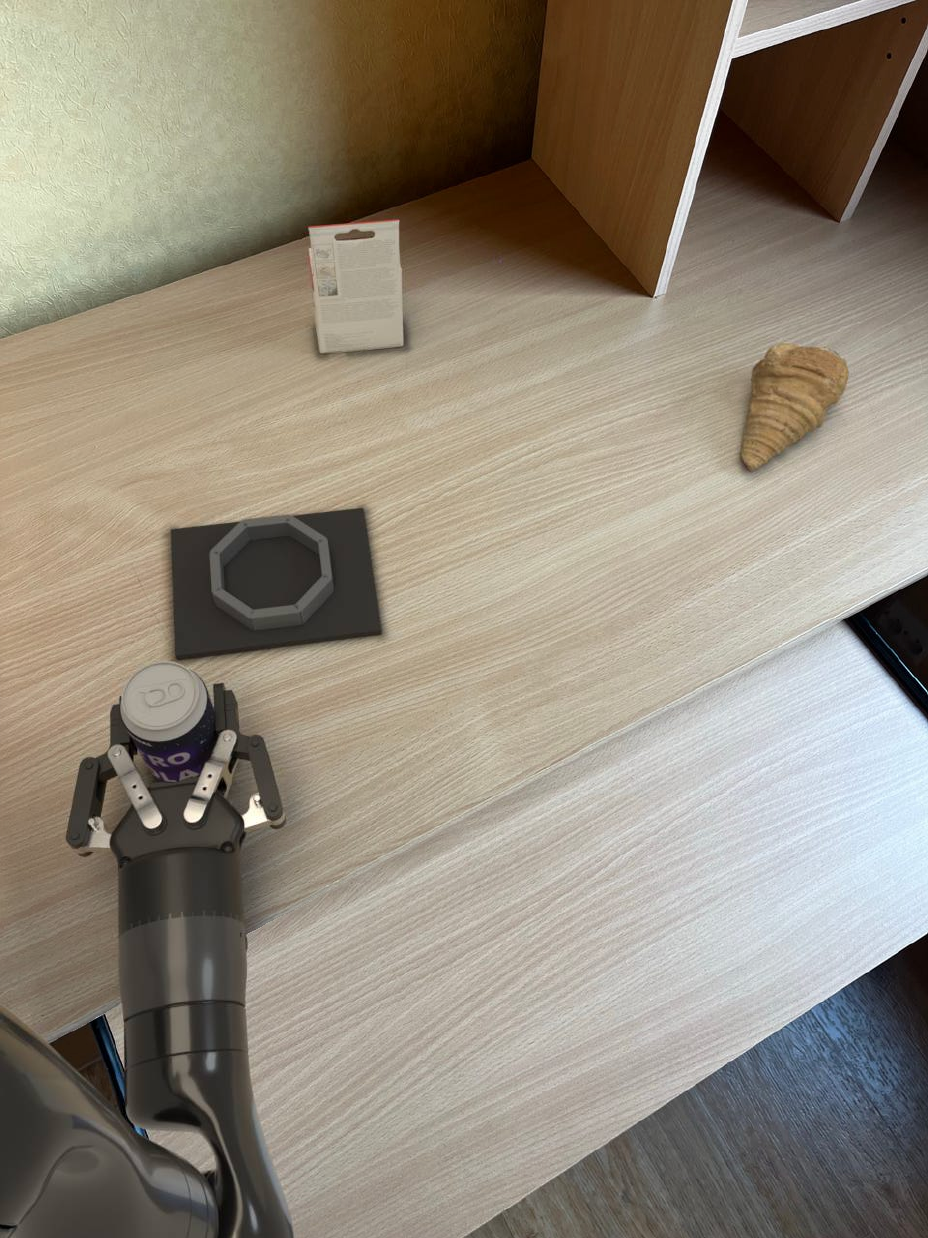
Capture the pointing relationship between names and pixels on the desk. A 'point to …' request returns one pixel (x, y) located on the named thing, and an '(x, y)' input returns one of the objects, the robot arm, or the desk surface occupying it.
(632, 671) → the desk surface
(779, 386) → the seashell
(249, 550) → the socket pad
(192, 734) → the beverage can
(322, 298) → the ink box
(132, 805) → the robot arm
